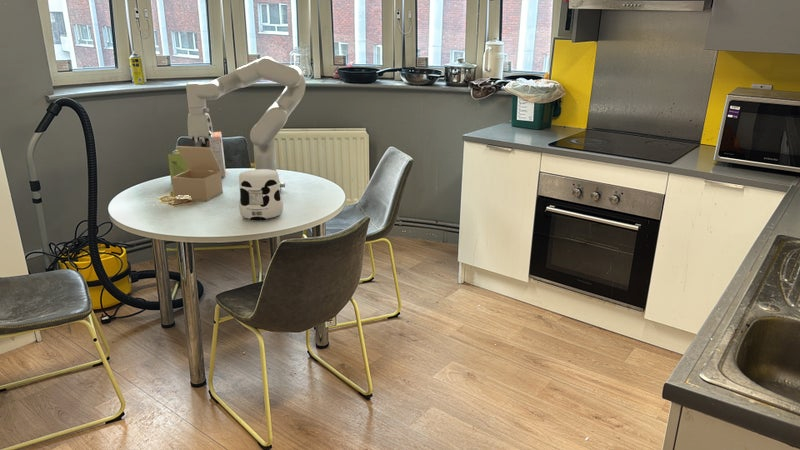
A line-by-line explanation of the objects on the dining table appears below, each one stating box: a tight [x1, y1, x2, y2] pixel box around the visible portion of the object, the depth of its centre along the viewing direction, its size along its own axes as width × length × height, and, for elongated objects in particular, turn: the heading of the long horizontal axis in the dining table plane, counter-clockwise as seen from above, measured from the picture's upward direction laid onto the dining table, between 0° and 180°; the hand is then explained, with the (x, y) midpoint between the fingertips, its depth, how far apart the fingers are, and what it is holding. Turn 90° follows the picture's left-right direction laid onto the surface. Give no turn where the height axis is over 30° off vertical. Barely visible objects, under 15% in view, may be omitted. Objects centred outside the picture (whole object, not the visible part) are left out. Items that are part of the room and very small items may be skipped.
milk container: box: [238, 169, 284, 222], centre depth 243 cm, size 17×17×18 cm
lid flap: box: [176, 139, 222, 171], centre depth 274 cm, size 16×14×6 cm
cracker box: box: [208, 131, 226, 178], centre depth 308 cm, size 14×6×21 cm, turn 14°
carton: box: [171, 170, 224, 202], centre depth 273 cm, size 16×14×10 cm
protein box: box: [167, 149, 204, 186], centre depth 294 cm, size 10×15×16 cm
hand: (202, 151), depth 275 cm, fingers closed on lid flap
